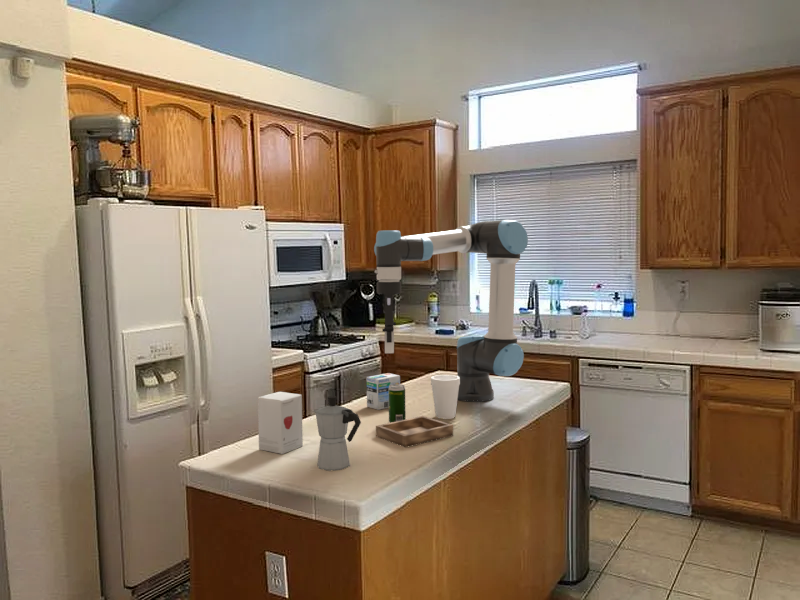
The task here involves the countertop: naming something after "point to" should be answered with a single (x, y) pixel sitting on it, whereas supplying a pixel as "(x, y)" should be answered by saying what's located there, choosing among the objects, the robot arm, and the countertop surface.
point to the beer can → (396, 402)
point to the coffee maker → (334, 435)
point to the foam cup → (445, 395)
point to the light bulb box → (380, 390)
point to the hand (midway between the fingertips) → (389, 349)
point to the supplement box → (280, 422)
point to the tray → (414, 431)
